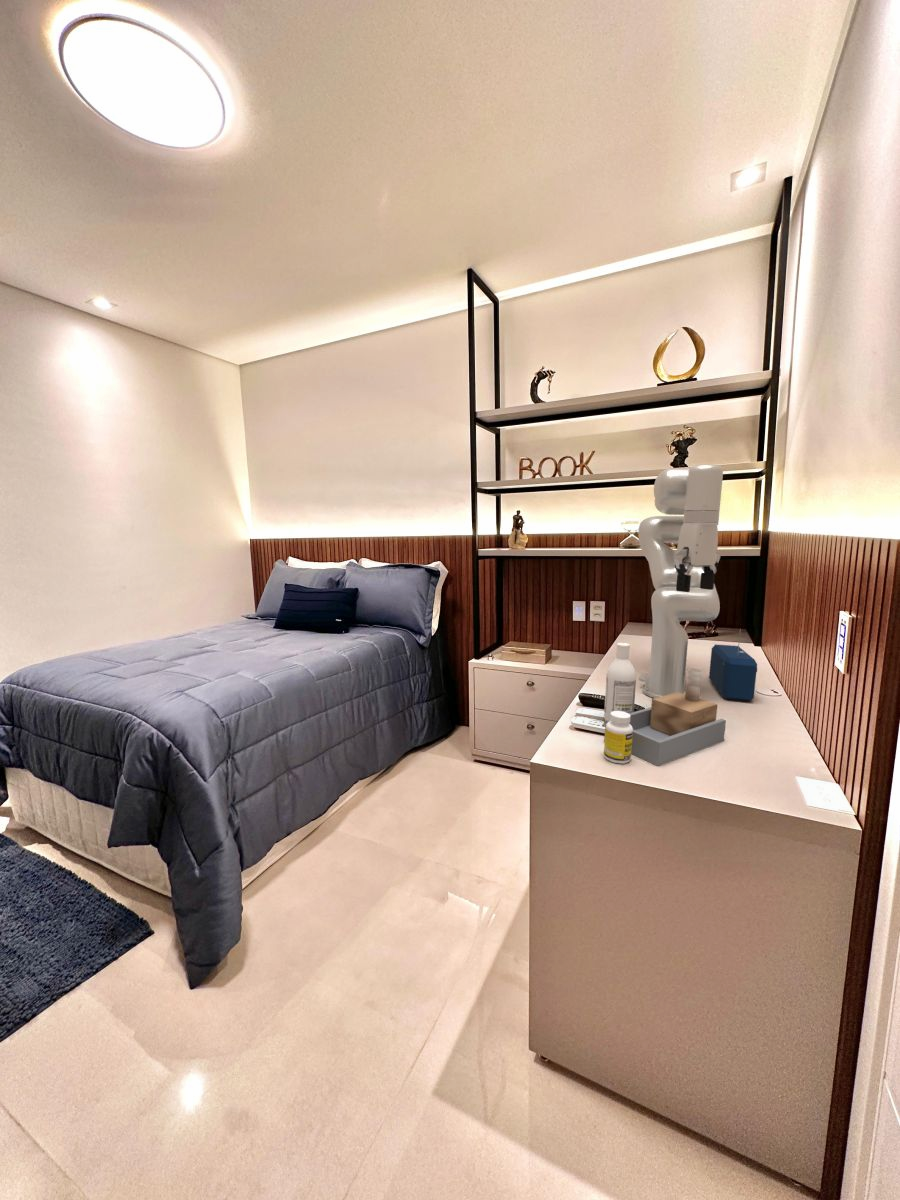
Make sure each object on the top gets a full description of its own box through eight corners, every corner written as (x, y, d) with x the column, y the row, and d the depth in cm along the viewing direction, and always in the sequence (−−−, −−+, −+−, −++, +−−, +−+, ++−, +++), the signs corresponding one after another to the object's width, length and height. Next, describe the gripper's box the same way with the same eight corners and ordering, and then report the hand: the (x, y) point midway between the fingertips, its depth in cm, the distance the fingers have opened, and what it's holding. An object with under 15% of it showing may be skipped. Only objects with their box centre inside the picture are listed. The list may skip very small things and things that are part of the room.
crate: (649, 727, 120) (654, 670, 118) (675, 718, 125) (679, 664, 123) (689, 742, 111) (694, 681, 109) (714, 733, 117) (720, 675, 115)
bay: (604, 740, 115) (605, 720, 114) (669, 720, 127) (670, 701, 127) (658, 766, 103) (659, 743, 102) (723, 740, 116) (725, 720, 115)
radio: (757, 704, 140) (765, 634, 137) (723, 701, 142) (729, 631, 139) (737, 682, 160) (743, 620, 157) (707, 679, 162) (712, 618, 159)
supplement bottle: (627, 766, 102) (630, 721, 101) (600, 760, 105) (603, 715, 104) (633, 756, 107) (636, 712, 106) (607, 750, 110) (610, 707, 108)
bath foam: (639, 724, 124) (644, 645, 121) (618, 729, 121) (623, 648, 118) (618, 715, 131) (623, 639, 128) (597, 719, 128) (602, 642, 125)
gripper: (706, 519, 127) (701, 586, 130) (664, 518, 118) (658, 590, 121) (736, 519, 121) (730, 590, 124) (694, 518, 112) (687, 594, 115)
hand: (694, 590), depth 122 cm, fingers open, 9 cm apart
